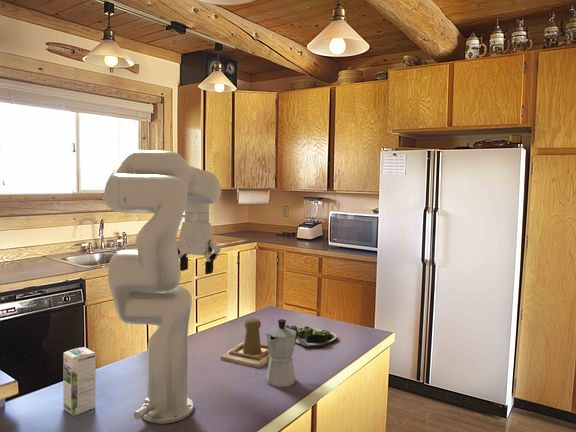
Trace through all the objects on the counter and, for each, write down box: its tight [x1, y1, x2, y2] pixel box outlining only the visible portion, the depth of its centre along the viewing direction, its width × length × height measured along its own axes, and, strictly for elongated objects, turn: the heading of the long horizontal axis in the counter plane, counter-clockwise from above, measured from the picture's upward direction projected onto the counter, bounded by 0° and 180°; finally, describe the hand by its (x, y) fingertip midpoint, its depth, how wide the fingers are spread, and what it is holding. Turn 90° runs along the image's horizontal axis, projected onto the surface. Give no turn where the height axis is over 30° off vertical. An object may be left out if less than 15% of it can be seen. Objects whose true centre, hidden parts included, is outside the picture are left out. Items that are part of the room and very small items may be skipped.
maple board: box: [220, 341, 271, 369], centre depth 149 cm, size 16×14×2 cm
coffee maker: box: [265, 319, 298, 389], centre depth 131 cm, size 15×9×18 cm, turn 149°
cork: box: [243, 317, 262, 355], centre depth 148 cm, size 6×6×11 cm
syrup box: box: [62, 347, 97, 417], centre depth 112 cm, size 6×6×14 cm
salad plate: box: [295, 325, 338, 349], centre depth 166 cm, size 19×18×5 cm
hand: (196, 271), depth 143 cm, fingers open, 9 cm apart
